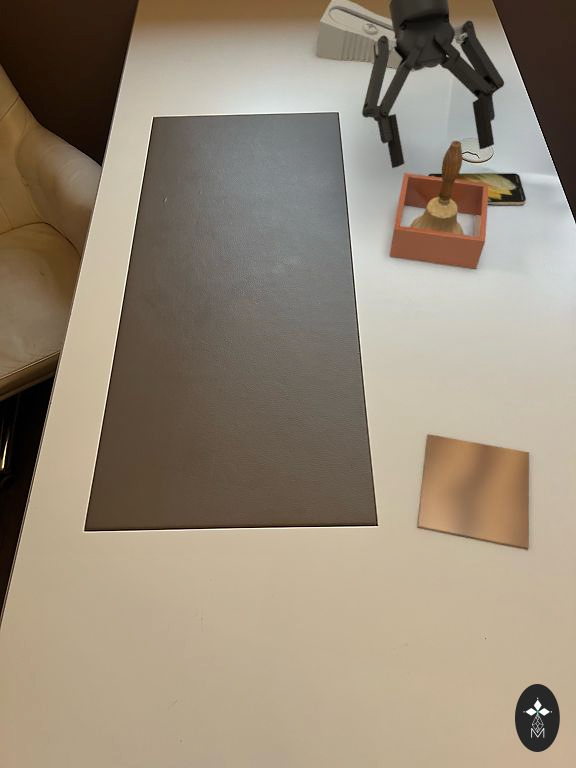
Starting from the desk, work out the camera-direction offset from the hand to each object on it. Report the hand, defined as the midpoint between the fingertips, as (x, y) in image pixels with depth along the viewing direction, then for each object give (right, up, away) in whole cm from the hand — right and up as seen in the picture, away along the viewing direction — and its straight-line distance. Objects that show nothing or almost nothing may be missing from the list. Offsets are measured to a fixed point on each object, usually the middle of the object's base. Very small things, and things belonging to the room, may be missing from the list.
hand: (443, 156), depth 88 cm
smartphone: (+9, -1, +14) cm, 17 cm away
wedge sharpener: (-5, +36, +39) cm, 53 cm away
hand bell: (+1, -9, +9) cm, 13 cm away
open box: (+1, -9, +9) cm, 12 cm away
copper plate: (0, -44, -16) cm, 47 cm away
